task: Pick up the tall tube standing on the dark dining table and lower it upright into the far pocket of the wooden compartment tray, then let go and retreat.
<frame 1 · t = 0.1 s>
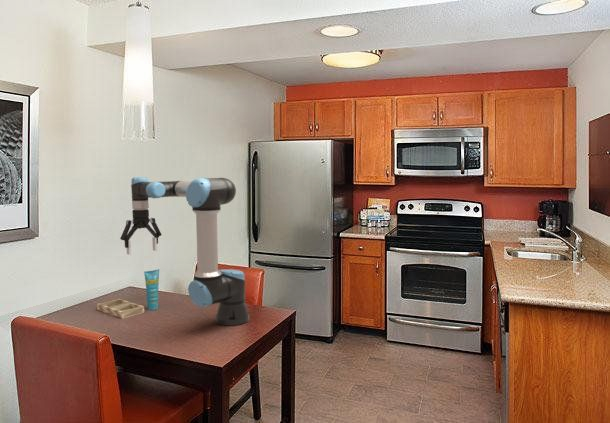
hand: (142, 252, 229), 28 cm above the table, fingers open, 13 cm apart
wooden compartment tray: (120, 311, 226), on the table
tube: (153, 309, 230), on the table
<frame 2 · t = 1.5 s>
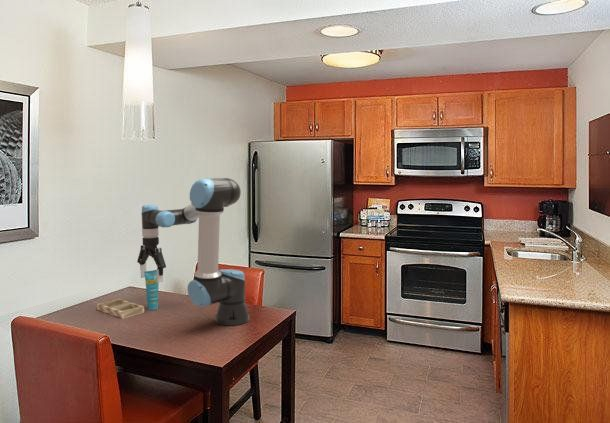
hand: (151, 279, 229), 14 cm above the table, fingers open, 13 cm apart
nothing on the table moved.
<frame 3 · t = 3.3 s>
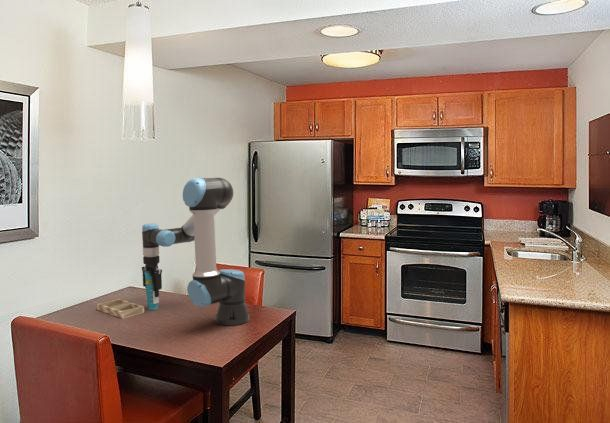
hand: (152, 302, 230), 3 cm above the table, fingers closed on tube, 5 cm apart
tube: (153, 309, 230), on the table, touching gripper
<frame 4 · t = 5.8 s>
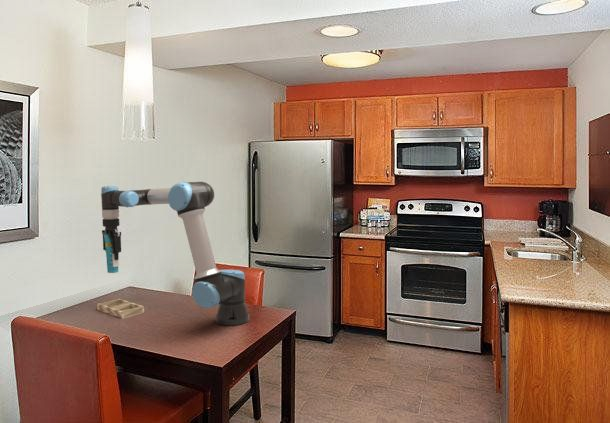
hand: (112, 265, 227), 22 cm above the table, fingers closed on tube, 5 cm apart
tube: (113, 272, 228), point 18 cm above the table, touching gripper
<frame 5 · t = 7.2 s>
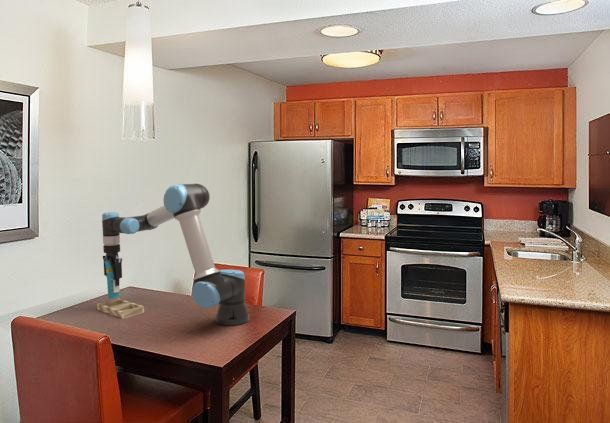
hand: (113, 291, 229), 9 cm above the table, fingers closed on tube, 5 cm apart
tube: (114, 298, 229), point 6 cm above the table, touching gripper
when the fingers open (5 cm above the table, at t = 8.3 s): tube drops 2 cm, resting on wooden compartment tray.
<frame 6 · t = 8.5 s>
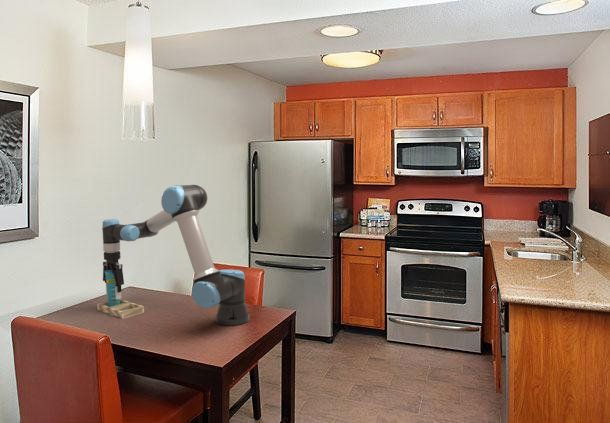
hand: (113, 297, 229), 6 cm above the table, fingers open, 8 cm apart
tube: (114, 308, 229), resting on wooden compartment tray
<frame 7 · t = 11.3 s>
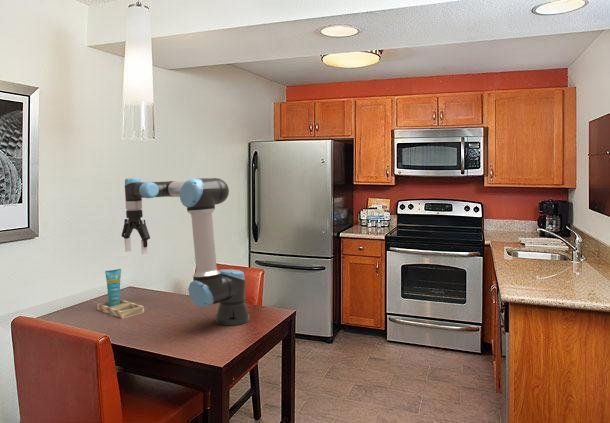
hand: (136, 252, 231), 27 cm above the table, fingers open, 13 cm apart
nothing on the table moved.
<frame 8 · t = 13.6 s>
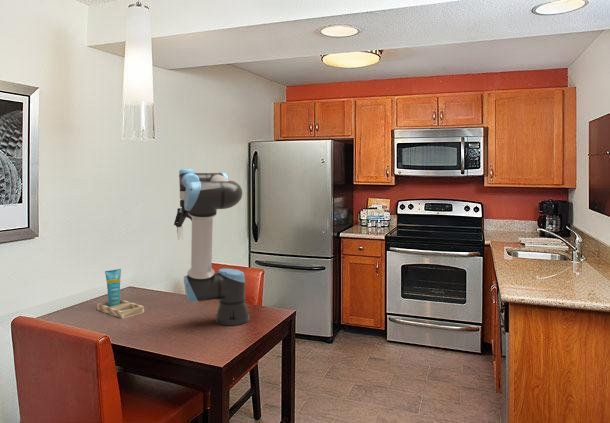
hand: (188, 240, 240), 32 cm above the table, fingers open, 13 cm apart
nothing on the table moved.
at the end: tube 0.2 cm from the target spot on the wooden compartment tray, point 0.3 cm above the wooden compartment tray's base; tube tilted 0°; the gripper is holding nothing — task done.
